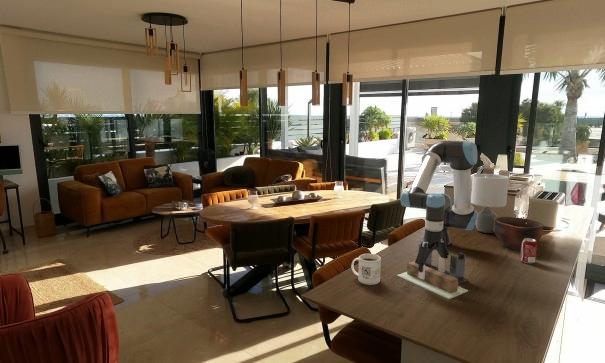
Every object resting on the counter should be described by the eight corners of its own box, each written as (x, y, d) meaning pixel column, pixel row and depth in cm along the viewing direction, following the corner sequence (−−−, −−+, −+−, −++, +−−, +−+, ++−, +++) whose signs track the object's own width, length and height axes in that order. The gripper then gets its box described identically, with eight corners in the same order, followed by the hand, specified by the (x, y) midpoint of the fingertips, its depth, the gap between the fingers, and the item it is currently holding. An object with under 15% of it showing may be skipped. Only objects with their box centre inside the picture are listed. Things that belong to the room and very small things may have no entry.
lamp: (464, 226, 260) (468, 173, 254) (496, 227, 257) (501, 174, 251) (473, 235, 240) (478, 178, 233) (508, 237, 237) (514, 179, 231)
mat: (397, 276, 179) (397, 274, 179) (415, 269, 186) (415, 268, 186) (448, 299, 156) (449, 298, 156) (467, 291, 163) (467, 290, 163)
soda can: (537, 264, 192) (539, 242, 190) (522, 263, 194) (525, 241, 192) (532, 260, 199) (534, 238, 197) (518, 259, 200) (520, 237, 198)
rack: (414, 266, 190) (415, 243, 188) (423, 263, 194) (424, 240, 192) (458, 284, 170) (460, 258, 168) (467, 280, 174) (469, 255, 172)
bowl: (535, 242, 227) (537, 217, 225) (546, 256, 204) (549, 229, 202) (489, 237, 235) (491, 214, 233) (494, 251, 212) (497, 224, 210)
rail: (407, 274, 180) (407, 263, 179) (412, 272, 182) (413, 261, 181) (451, 293, 160) (452, 281, 159) (457, 291, 162) (458, 278, 161)
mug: (365, 286, 167) (366, 263, 166) (350, 276, 178) (350, 254, 176) (384, 282, 172) (385, 259, 170) (368, 272, 183) (368, 250, 181)
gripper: (422, 236, 157) (419, 284, 161) (459, 226, 170) (455, 271, 174) (408, 231, 163) (405, 278, 167) (444, 222, 177) (441, 265, 180)
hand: (431, 274), depth 170 cm, fingers open, 13 cm apart
